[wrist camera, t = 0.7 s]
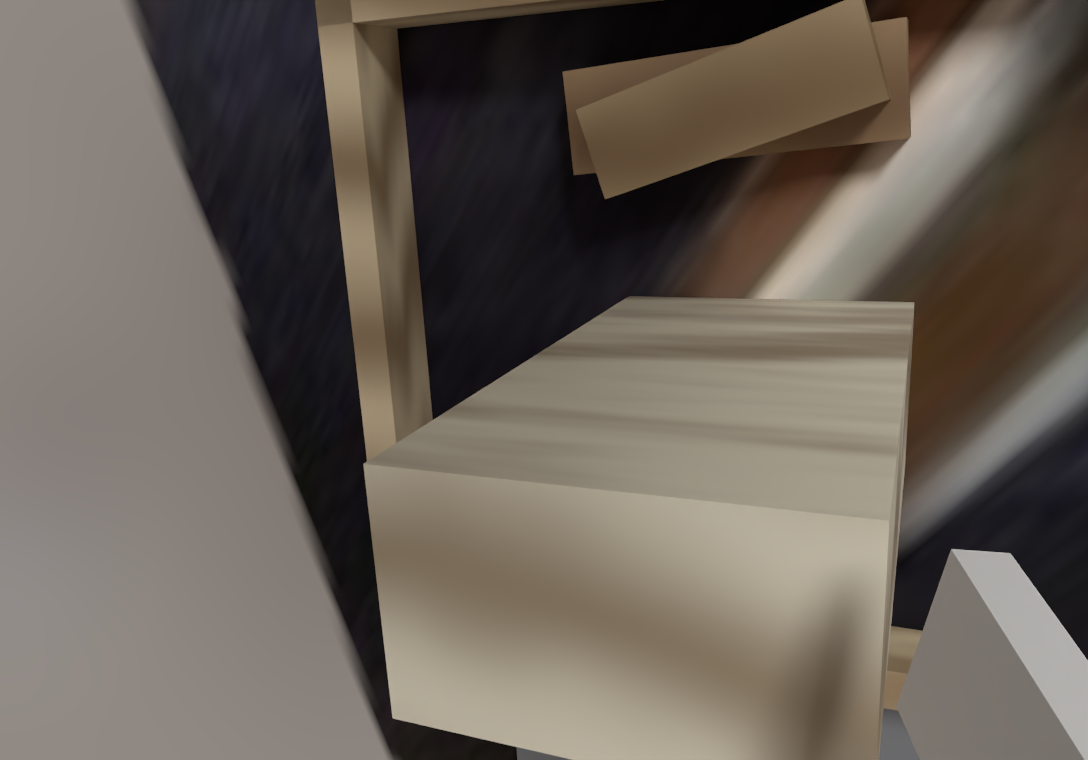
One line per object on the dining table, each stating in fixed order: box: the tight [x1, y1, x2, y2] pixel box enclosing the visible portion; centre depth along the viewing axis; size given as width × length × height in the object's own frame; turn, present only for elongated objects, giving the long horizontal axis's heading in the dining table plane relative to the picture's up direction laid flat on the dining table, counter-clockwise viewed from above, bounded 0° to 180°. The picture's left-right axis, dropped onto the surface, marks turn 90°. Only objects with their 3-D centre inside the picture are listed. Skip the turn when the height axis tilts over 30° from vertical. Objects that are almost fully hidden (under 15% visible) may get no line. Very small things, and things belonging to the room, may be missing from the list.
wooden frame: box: [315, 0, 923, 711], centre depth 33 cm, size 26×24×3 cm
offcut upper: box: [576, 0, 892, 199], centre depth 28 cm, size 3×9×2 cm, turn 110°
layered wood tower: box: [363, 296, 914, 760], centre depth 25 cm, size 6×10×18 cm, turn 93°
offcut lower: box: [563, 17, 911, 175], centre depth 30 cm, size 4×11×2 cm, turn 97°
